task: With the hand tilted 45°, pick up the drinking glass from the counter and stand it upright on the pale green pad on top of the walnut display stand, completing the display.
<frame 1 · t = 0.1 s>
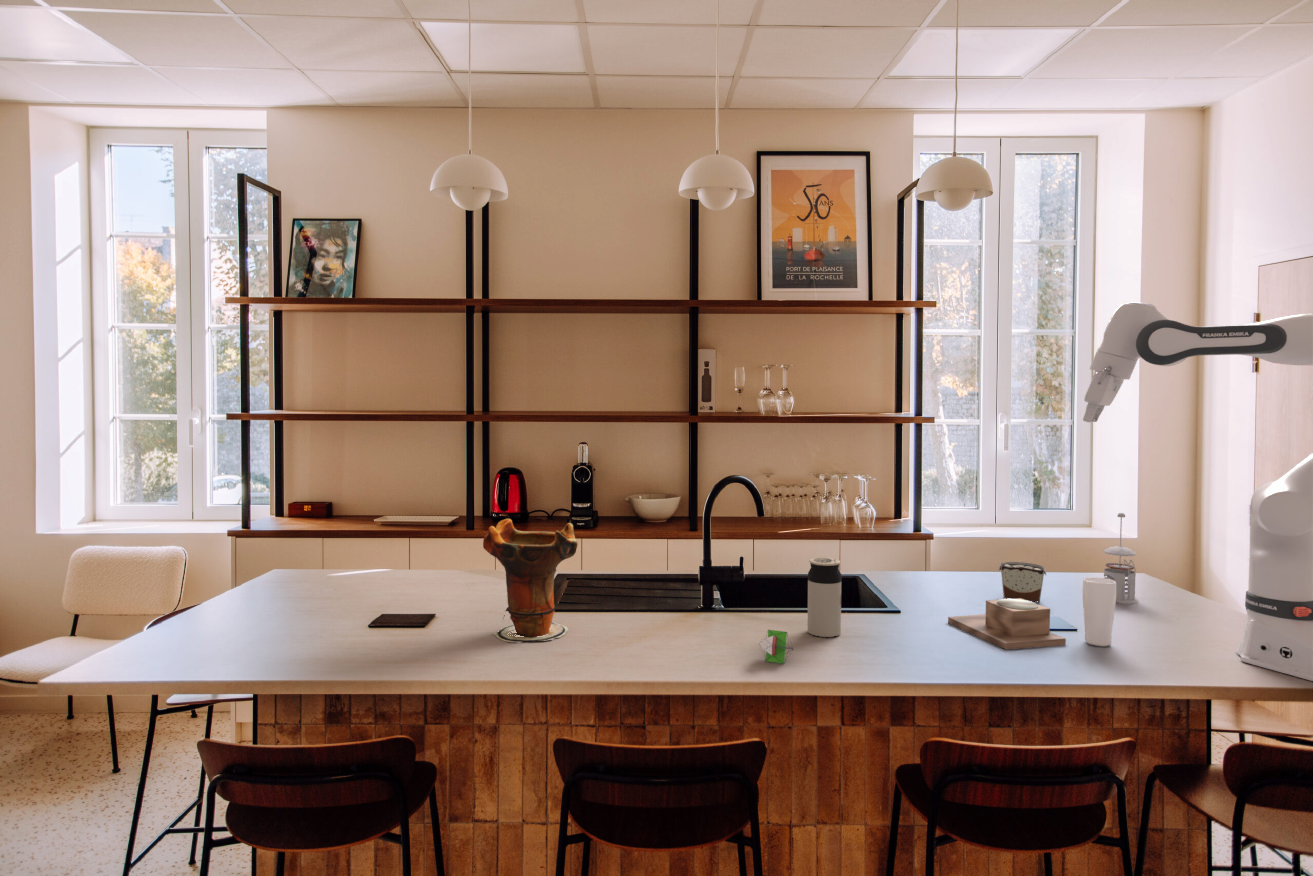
hand: (1089, 421, 186), 52 cm above the countertop, tool tilted 20°, fingers open, 8 cm apart
french press: (1120, 600, 216), on the countertop
travel mug: (824, 634, 184), on the countertop
geometric puzzle: (776, 661, 165), on the countertop
decorative vase: (531, 633, 185), on the countertop
food container: (1022, 598, 218), on the countertop
walnut display stand: (1004, 633, 184), on the countertop
drinking glass: (1097, 644, 176), on the countertop
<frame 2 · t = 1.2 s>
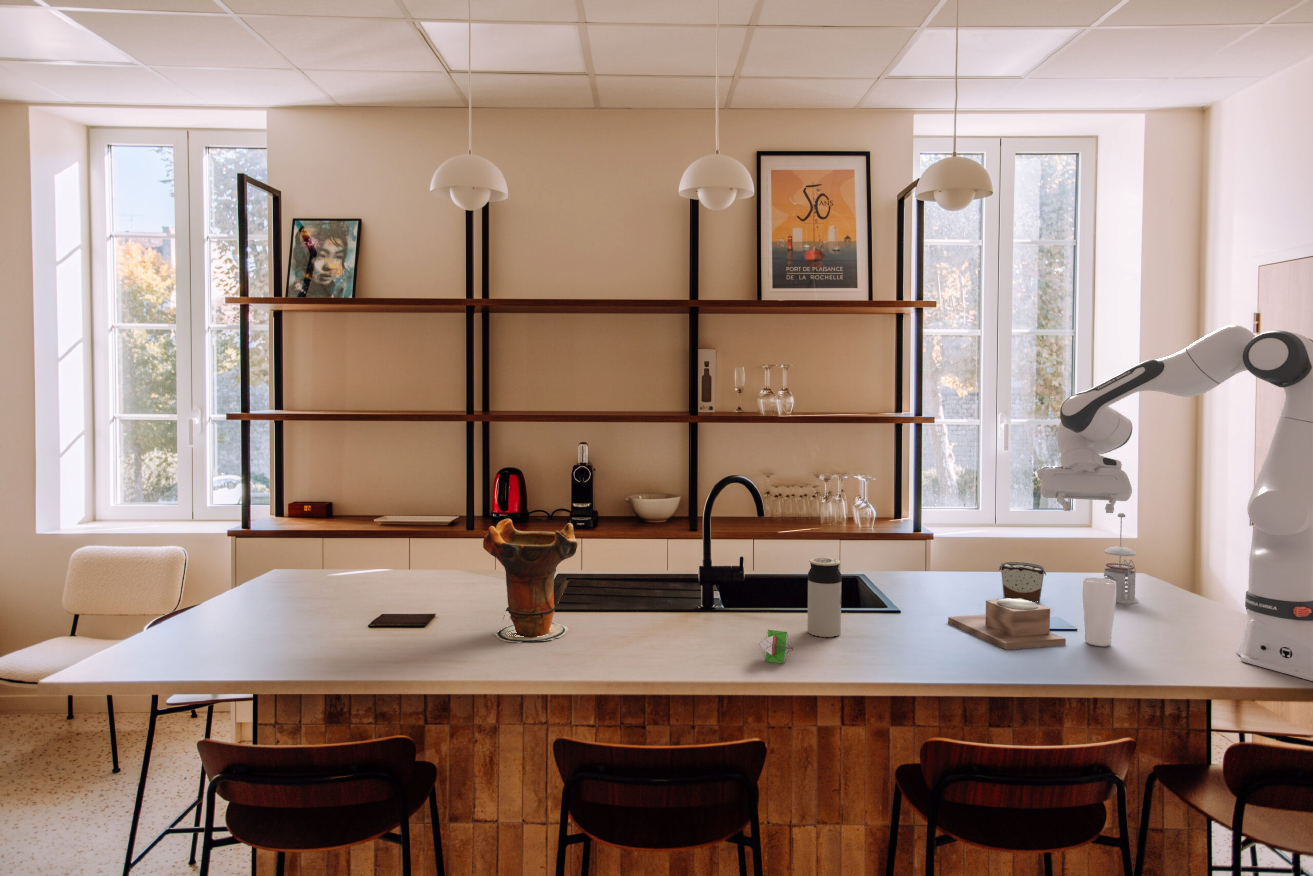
hand: (1088, 510, 187), 30 cm above the countertop, tool tilted 45°, fingers open, 8 cm apart
nothing on the countertop moved.
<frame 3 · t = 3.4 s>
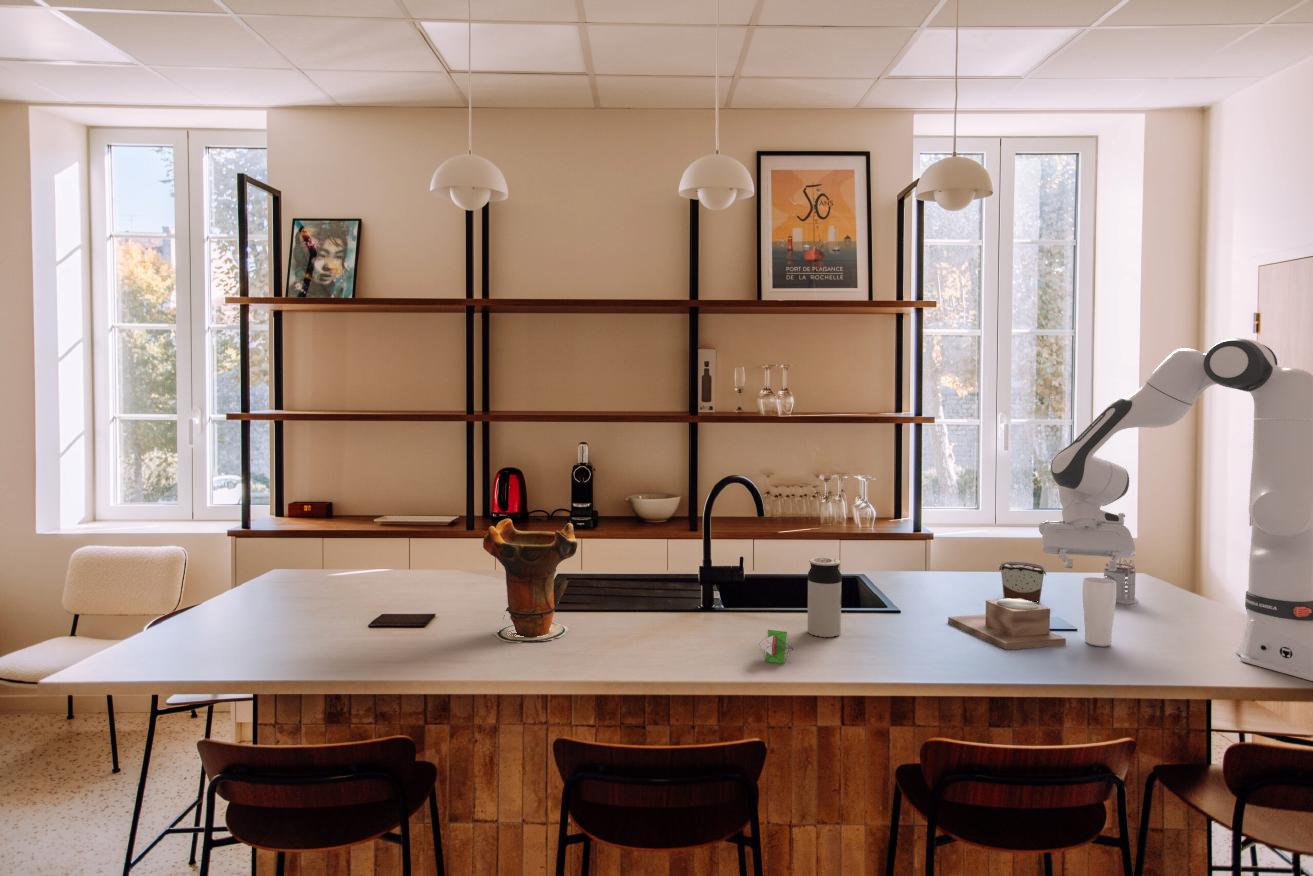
hand: (1090, 568, 184), 16 cm above the countertop, tool tilted 45°, fingers open, 8 cm apart
nothing on the countertop moved.
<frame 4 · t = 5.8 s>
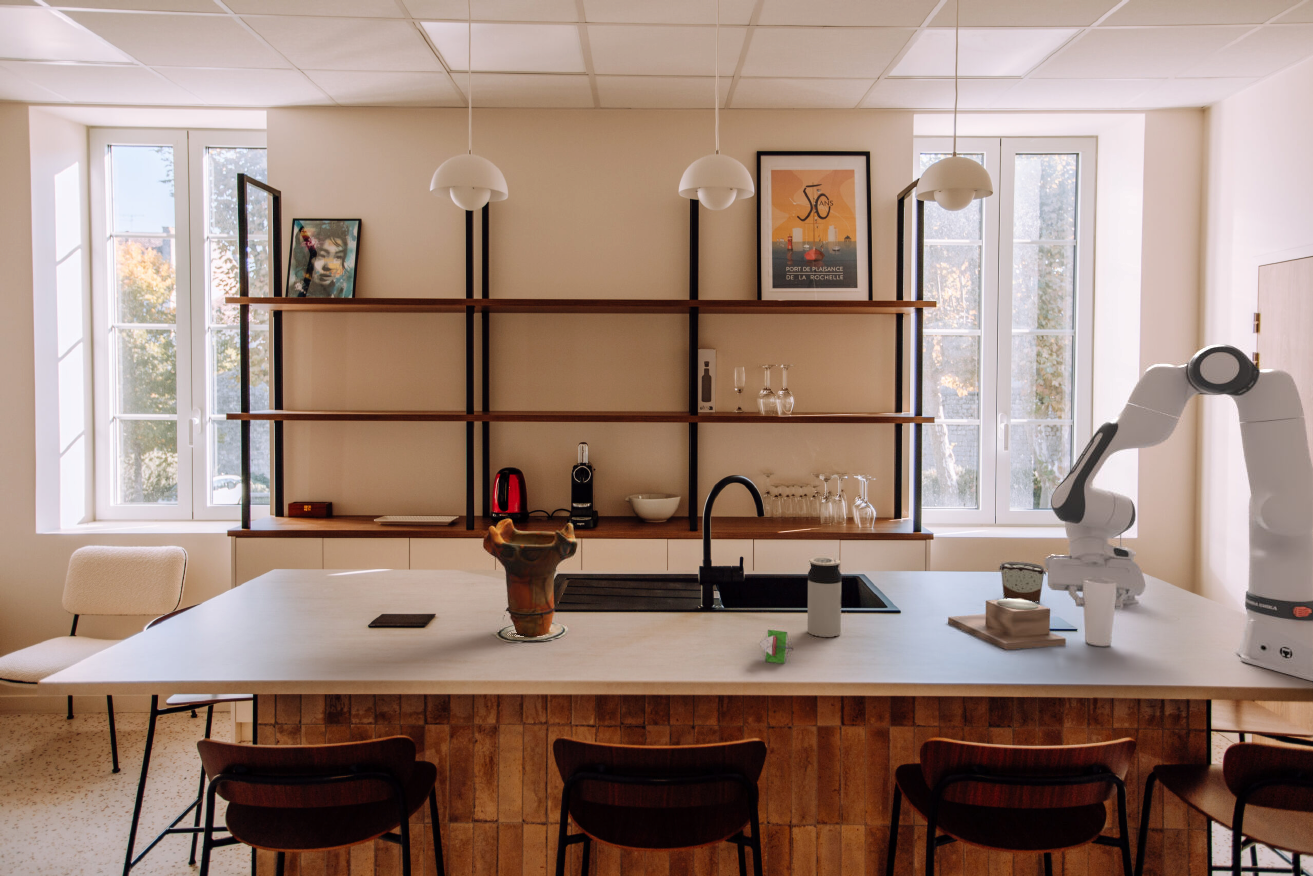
hand: (1099, 606, 175), 9 cm above the countertop, tool tilted 45°, fingers closed on drinking glass, 6 cm apart
drinking glass: (1097, 644, 176), on the countertop, touching gripper
everything else where it was.
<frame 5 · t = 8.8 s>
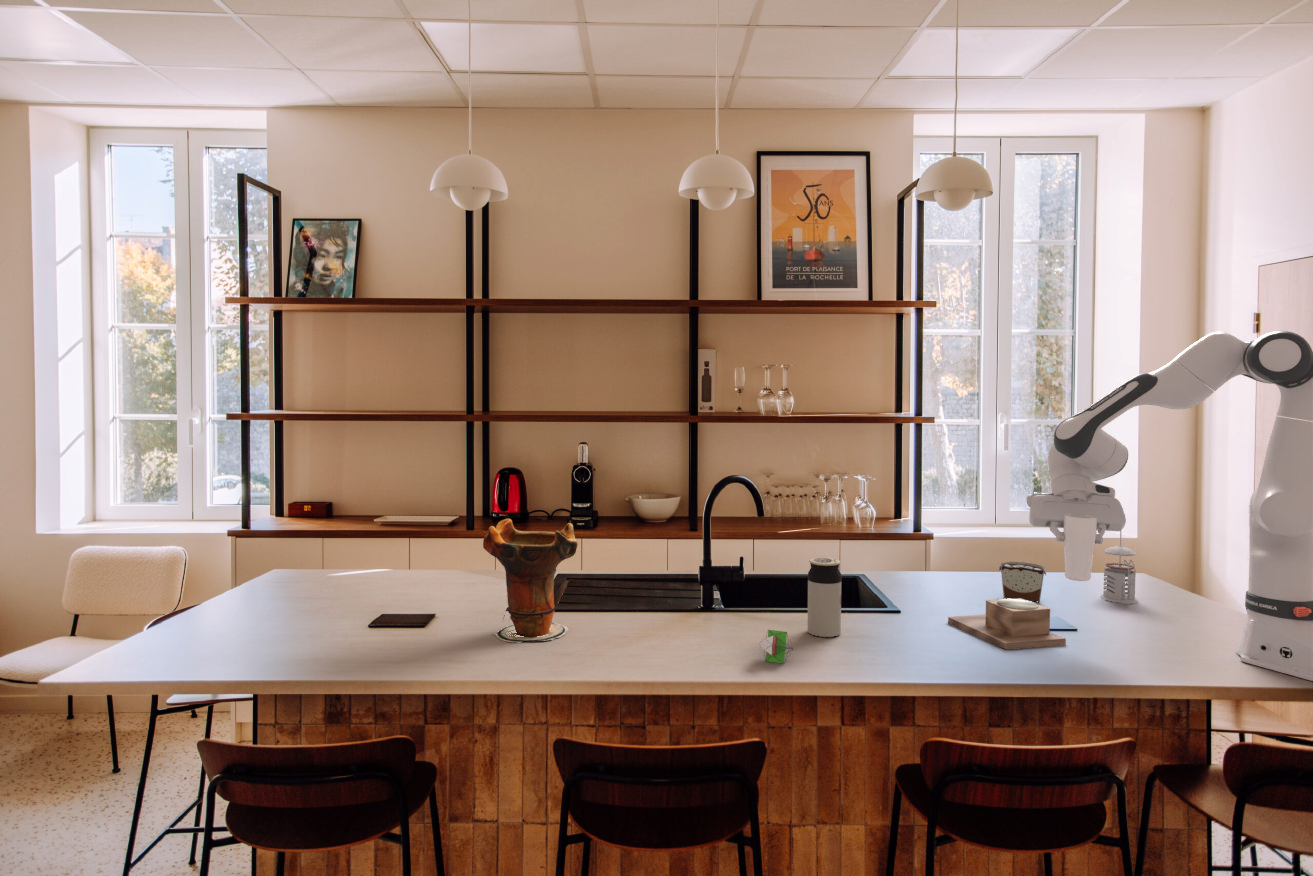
hand: (1079, 541, 176), 24 cm above the countertop, tool tilted 45°, fingers closed on drinking glass, 7 cm apart
drinking glass: (1077, 580, 178), point 15 cm above the countertop, touching gripper
everything else where it was.
when the fingers open (18 cm above the countertop, at t = 11.6 s): drinking glass stays where it is, resting on walnut display stand.
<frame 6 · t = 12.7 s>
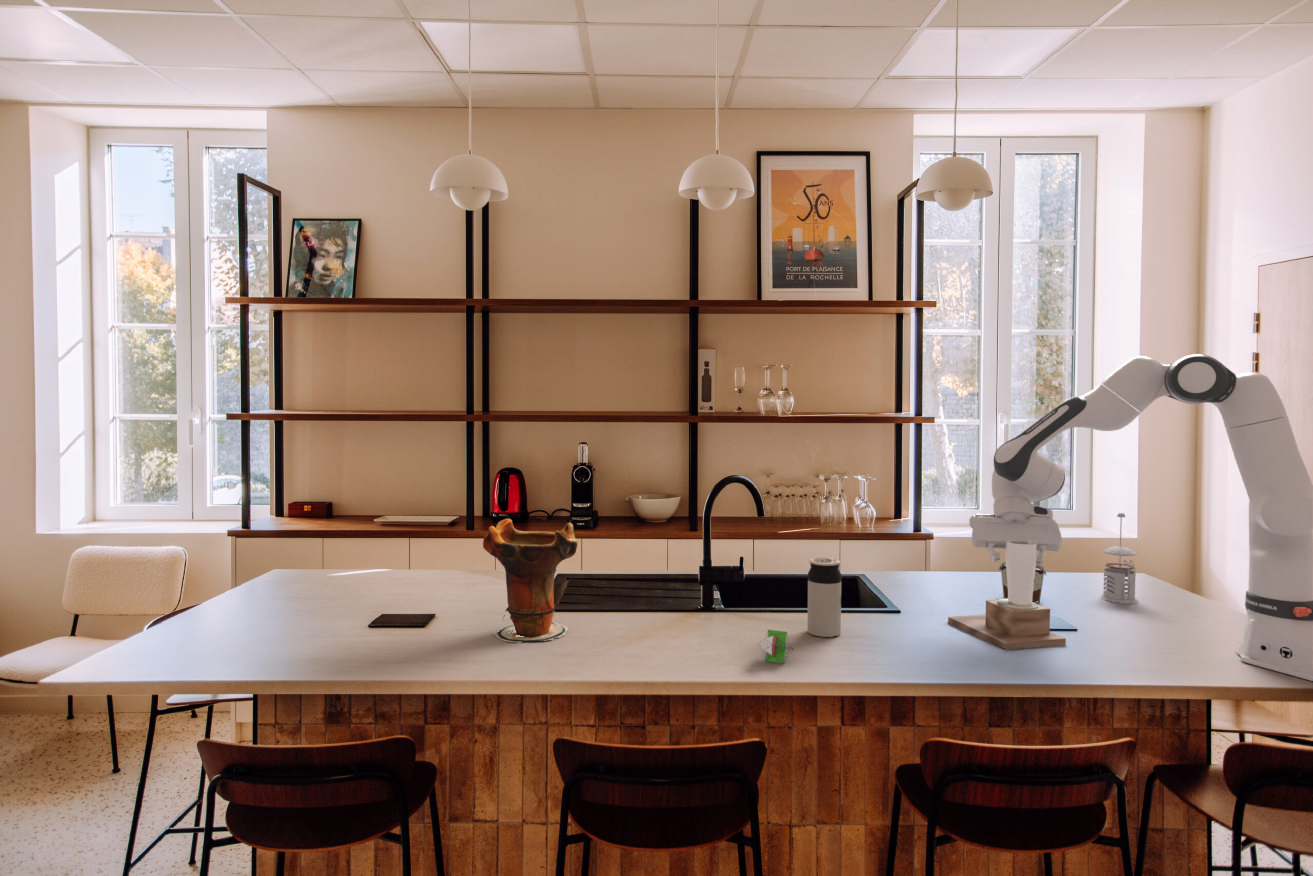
hand: (1017, 561, 182), 18 cm above the countertop, tool tilted 45°, fingers open, 8 cm apart
drinking glass: (1019, 604, 182), point 8 cm above the countertop, touching walnut display stand
everything else where it was.
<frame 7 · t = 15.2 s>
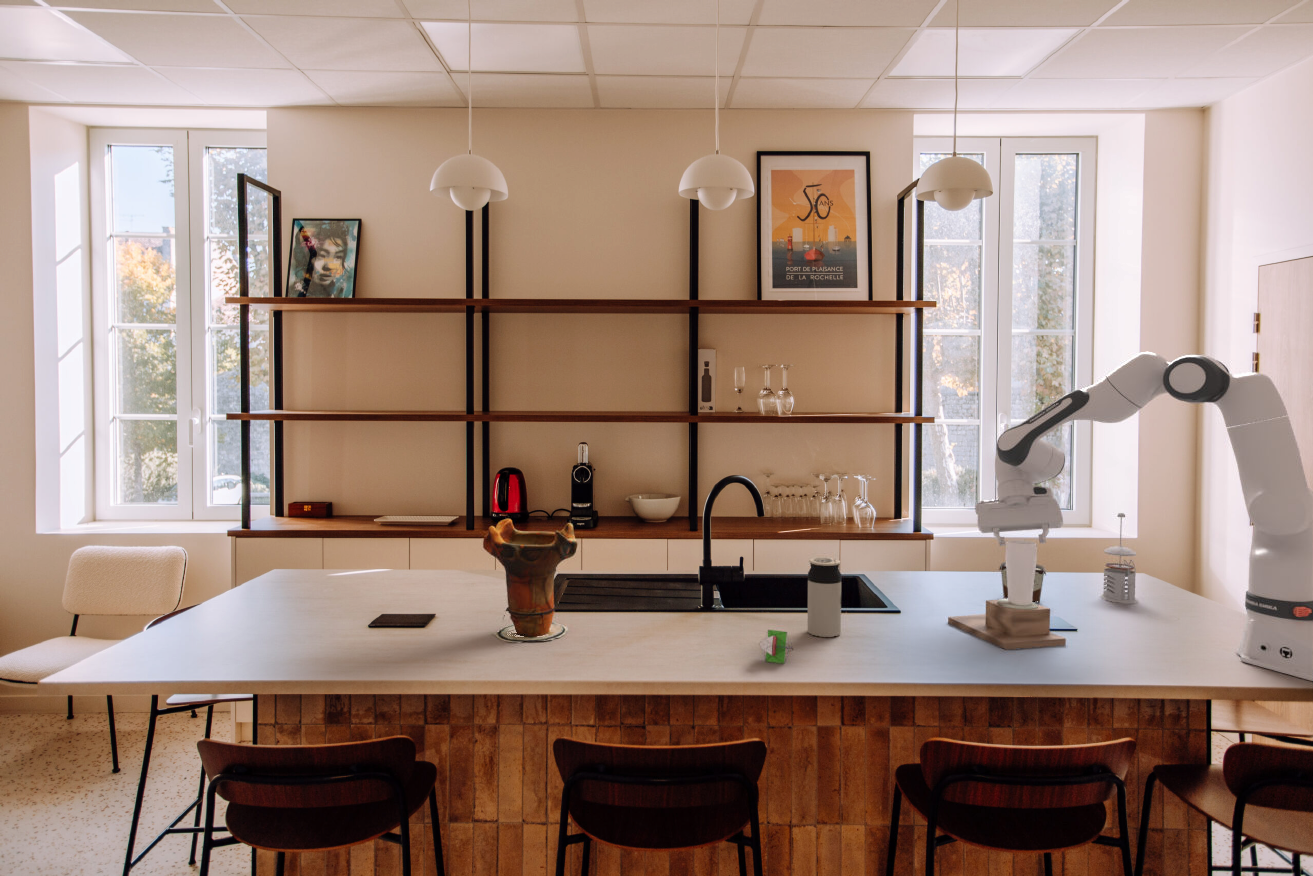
hand: (1022, 543, 193), 20 cm above the countertop, tool tilted 40°, fingers open, 8 cm apart
nothing on the countertop moved.
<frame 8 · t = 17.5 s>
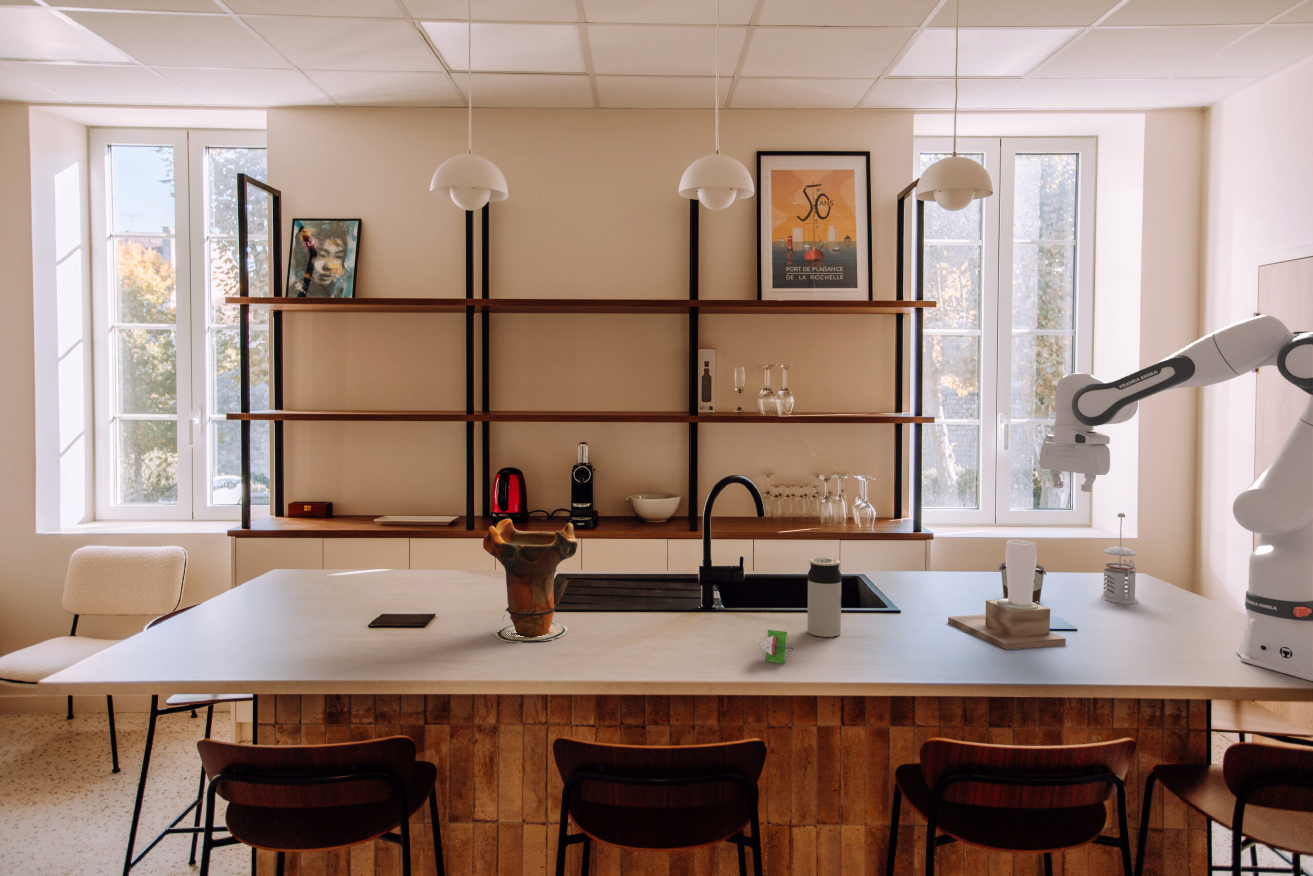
hand: (1072, 489, 194), 34 cm above the countertop, tool pointing down, fingers open, 8 cm apart
nothing on the countertop moved.
at the end: drinking glass inside the target area on the walnut display stand (0.6 cm from its centre), point 7.6 cm above the walnut display stand's base; drinking glass tilted 0°; the gripper is holding nothing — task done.
